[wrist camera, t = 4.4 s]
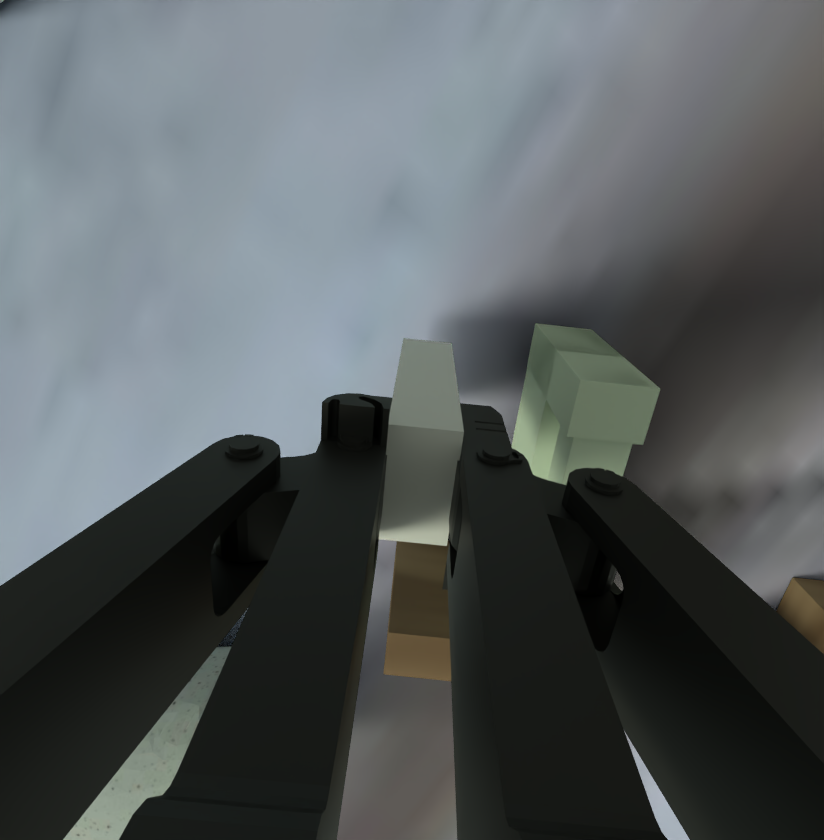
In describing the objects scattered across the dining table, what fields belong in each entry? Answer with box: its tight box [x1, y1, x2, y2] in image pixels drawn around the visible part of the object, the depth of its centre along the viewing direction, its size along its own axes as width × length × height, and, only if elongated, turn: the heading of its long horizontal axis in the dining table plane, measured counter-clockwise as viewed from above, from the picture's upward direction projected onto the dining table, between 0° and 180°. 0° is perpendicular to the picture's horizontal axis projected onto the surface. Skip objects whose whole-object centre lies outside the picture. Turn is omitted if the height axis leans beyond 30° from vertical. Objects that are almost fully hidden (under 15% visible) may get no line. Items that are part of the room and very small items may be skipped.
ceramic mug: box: [63, 646, 232, 840], centre depth 22 cm, size 11×8×8 cm
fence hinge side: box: [384, 541, 451, 681], centre depth 17 cm, size 2×6×10 cm, turn 84°
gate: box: [511, 323, 660, 485], centre depth 16 cm, size 8×2×6 cm, turn 174°
